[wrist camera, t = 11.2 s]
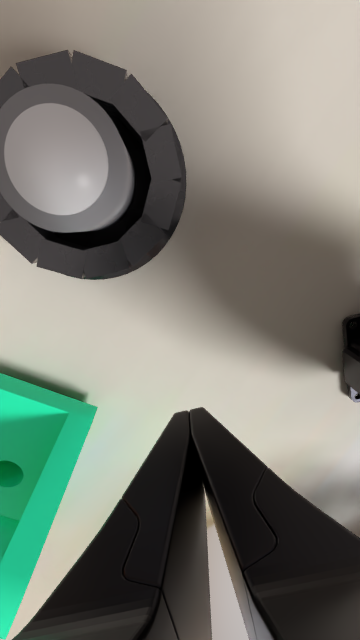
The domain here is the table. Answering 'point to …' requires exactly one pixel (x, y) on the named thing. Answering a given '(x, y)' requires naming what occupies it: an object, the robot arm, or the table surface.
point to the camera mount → (32, 477)
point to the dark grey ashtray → (149, 162)
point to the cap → (63, 161)
